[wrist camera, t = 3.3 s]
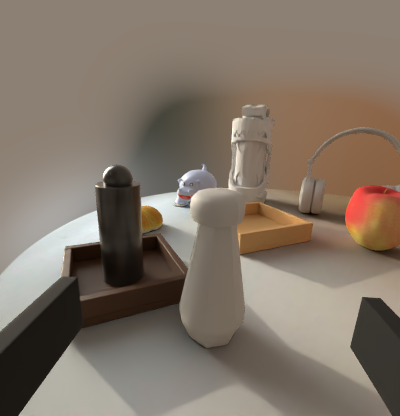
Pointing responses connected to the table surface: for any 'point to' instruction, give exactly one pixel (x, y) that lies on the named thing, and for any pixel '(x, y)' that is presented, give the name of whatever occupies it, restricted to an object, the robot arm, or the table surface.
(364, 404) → the table surface
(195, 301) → the salt shaker
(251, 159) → the lantern
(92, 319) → the dark tray
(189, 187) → the hippopotamus toy
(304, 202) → the headphones
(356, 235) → the apple
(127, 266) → the pepper mill
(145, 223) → the bread roll
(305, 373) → the table surface
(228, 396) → the table surface
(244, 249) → the pale tray
